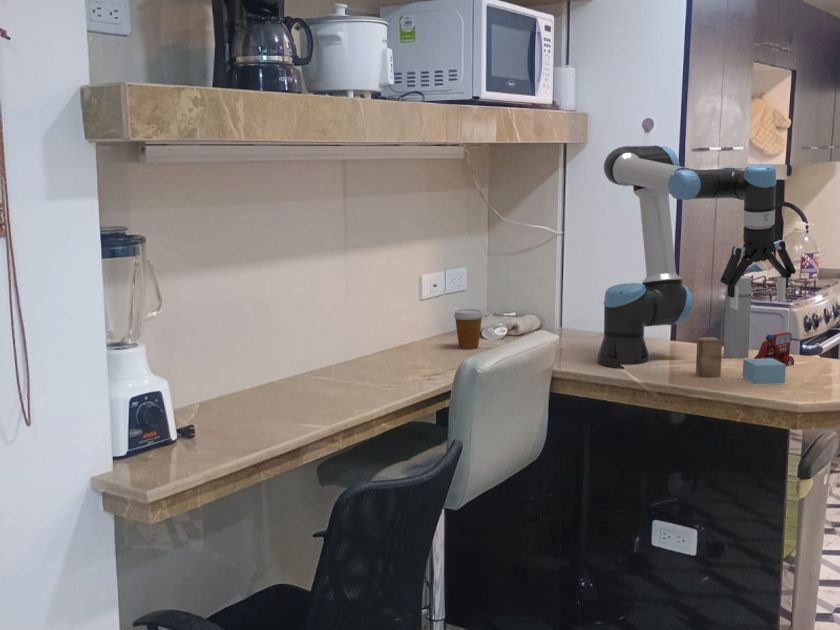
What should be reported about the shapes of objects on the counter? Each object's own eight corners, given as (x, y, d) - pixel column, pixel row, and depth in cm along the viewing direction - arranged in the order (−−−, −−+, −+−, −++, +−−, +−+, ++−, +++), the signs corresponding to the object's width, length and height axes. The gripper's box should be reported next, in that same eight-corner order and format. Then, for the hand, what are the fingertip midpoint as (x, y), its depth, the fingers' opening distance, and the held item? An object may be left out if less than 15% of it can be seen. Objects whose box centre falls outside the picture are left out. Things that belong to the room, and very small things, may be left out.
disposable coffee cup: (452, 345, 301) (451, 309, 299) (480, 344, 302) (480, 308, 300) (456, 350, 292) (456, 314, 290) (485, 349, 293) (485, 313, 291)
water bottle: (754, 359, 273) (758, 277, 269) (737, 363, 268) (741, 279, 264) (728, 354, 280) (731, 274, 276) (711, 358, 276) (715, 276, 272)
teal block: (742, 377, 246) (743, 359, 245) (771, 376, 246) (772, 358, 246) (755, 384, 238) (756, 365, 237) (784, 383, 239) (785, 364, 238)
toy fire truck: (748, 369, 261) (749, 333, 259) (778, 364, 267) (779, 329, 265) (767, 374, 255) (769, 337, 253) (797, 368, 261) (799, 333, 259)
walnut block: (695, 373, 252) (697, 337, 250) (713, 372, 252) (714, 337, 250) (702, 377, 247) (703, 341, 245) (720, 376, 247) (722, 340, 245)
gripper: (722, 235, 227) (721, 315, 234) (811, 221, 231) (808, 301, 238) (707, 229, 234) (707, 307, 241) (794, 216, 239) (791, 293, 245)
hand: (757, 304), depth 239 cm, fingers open, 13 cm apart
